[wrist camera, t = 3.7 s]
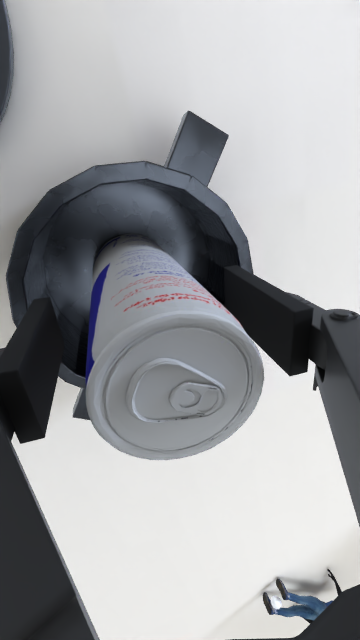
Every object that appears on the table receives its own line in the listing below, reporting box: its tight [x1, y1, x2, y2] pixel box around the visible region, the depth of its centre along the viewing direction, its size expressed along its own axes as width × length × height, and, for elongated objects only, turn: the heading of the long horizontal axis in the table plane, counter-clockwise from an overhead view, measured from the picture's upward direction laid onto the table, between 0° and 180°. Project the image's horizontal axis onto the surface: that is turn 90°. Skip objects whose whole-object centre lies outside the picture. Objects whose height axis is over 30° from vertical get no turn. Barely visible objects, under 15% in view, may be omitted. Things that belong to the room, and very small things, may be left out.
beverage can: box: [85, 234, 264, 460], centre depth 15 cm, size 6×6×15 cm
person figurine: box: [263, 569, 342, 624], centre depth 50 cm, size 11×4×18 cm
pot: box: [6, 111, 253, 420], centre depth 20 cm, size 14×19×6 cm
